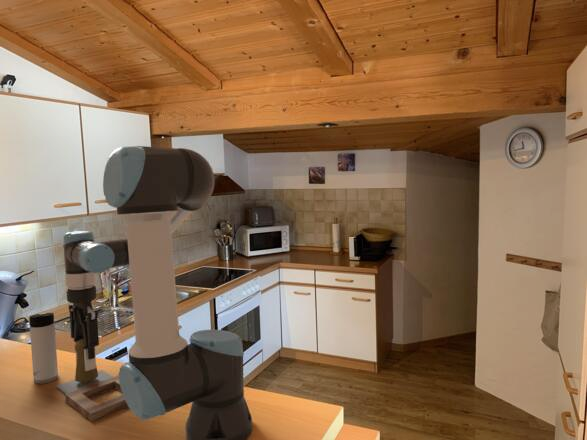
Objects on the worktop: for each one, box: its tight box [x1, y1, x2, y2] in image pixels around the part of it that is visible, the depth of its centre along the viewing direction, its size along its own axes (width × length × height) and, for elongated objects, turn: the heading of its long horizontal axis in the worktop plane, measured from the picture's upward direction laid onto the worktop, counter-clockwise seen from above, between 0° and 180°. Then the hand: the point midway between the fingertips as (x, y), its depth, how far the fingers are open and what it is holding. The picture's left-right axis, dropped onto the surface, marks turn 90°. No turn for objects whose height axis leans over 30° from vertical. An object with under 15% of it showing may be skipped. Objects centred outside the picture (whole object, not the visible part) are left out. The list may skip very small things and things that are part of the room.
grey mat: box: [56, 369, 114, 395], centre depth 125 cm, size 9×13×1 cm
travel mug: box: [28, 312, 59, 385], centre depth 127 cm, size 6×7×20 cm
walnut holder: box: [64, 374, 129, 422], centre depth 116 cm, size 15×15×2 cm
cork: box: [74, 339, 98, 382], centre depth 124 cm, size 6×6×11 cm
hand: (86, 366), depth 124 cm, fingers closed on cork, 5 cm apart
